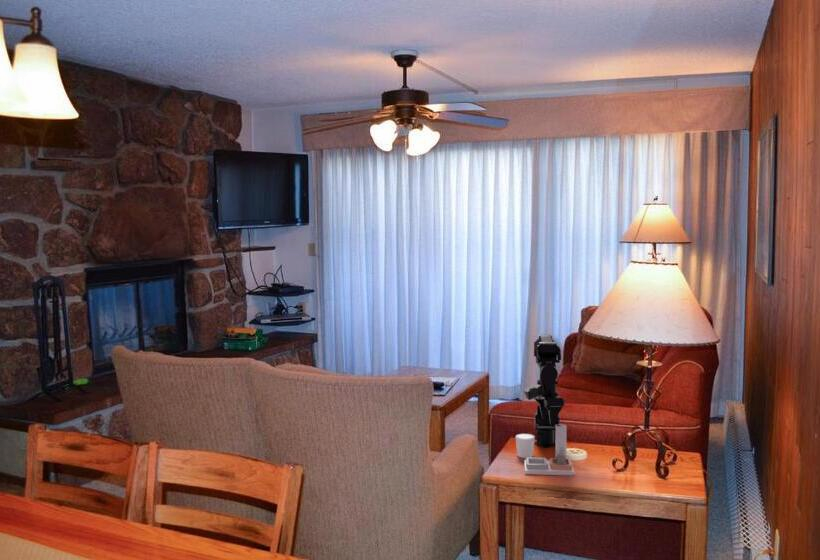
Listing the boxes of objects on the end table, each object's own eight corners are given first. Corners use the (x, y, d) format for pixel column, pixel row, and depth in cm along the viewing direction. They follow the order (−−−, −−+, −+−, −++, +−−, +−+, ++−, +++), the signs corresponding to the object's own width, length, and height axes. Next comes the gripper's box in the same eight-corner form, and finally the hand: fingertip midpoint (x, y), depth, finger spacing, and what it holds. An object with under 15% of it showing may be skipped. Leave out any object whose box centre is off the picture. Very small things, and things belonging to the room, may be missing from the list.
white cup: (536, 458, 259) (536, 439, 259) (516, 458, 260) (516, 439, 259) (533, 451, 266) (533, 433, 266) (514, 452, 266) (514, 433, 266)
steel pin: (563, 463, 250) (563, 423, 249) (568, 467, 247) (568, 426, 246) (553, 464, 250) (553, 424, 248) (558, 468, 246) (558, 427, 245)
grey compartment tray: (524, 463, 255) (524, 455, 254) (571, 464, 253) (571, 456, 253) (525, 474, 245) (525, 466, 245) (574, 475, 243) (574, 467, 243)
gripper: (518, 374, 267) (518, 416, 267) (533, 382, 248) (533, 428, 249) (548, 373, 268) (548, 415, 269) (565, 381, 250) (565, 427, 250)
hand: (547, 421), depth 259 cm, fingers open, 9 cm apart
